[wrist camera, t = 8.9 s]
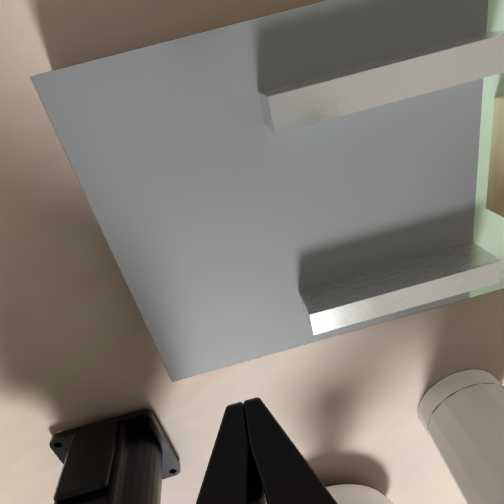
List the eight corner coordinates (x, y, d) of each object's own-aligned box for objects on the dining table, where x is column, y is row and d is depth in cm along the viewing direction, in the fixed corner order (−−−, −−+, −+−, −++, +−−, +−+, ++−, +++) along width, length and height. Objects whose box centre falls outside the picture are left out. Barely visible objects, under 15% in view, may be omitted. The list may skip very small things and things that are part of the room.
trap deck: (684, 206, 23) (736, 222, 21) (173, 349, 22) (172, 381, 20) (798, -119, 16) (897, -147, 14) (53, 73, 15) (29, 76, 13)
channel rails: (471, 262, 19) (499, 282, 17) (301, 309, 19) (313, 335, 17) (486, 32, 14) (528, 28, 13) (257, 92, 14) (267, 96, 12)
